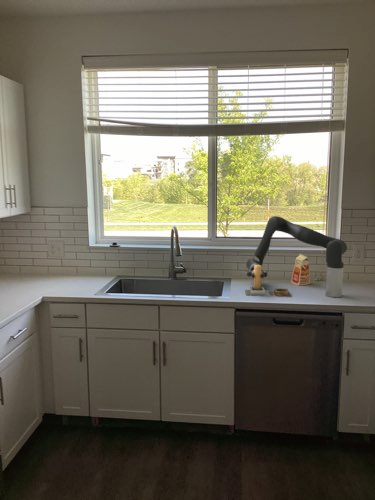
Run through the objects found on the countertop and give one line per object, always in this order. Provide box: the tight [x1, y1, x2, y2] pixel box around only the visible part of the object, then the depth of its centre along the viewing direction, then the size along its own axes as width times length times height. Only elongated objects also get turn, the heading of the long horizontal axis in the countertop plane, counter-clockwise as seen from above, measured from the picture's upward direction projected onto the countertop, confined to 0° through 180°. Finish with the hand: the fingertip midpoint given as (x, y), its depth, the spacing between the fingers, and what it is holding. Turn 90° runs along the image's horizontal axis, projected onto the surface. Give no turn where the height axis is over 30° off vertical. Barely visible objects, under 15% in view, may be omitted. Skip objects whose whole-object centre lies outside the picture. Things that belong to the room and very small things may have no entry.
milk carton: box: [290, 253, 311, 286], centre depth 275 cm, size 9×9×20 cm
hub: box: [244, 286, 271, 297], centre depth 249 cm, size 14×14×4 cm
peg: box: [252, 265, 263, 290], centre depth 247 cm, size 4×4×14 cm
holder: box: [271, 287, 292, 298], centre depth 246 cm, size 10×10×4 cm
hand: (257, 276), depth 245 cm, fingers closed on peg, 4 cm apart
